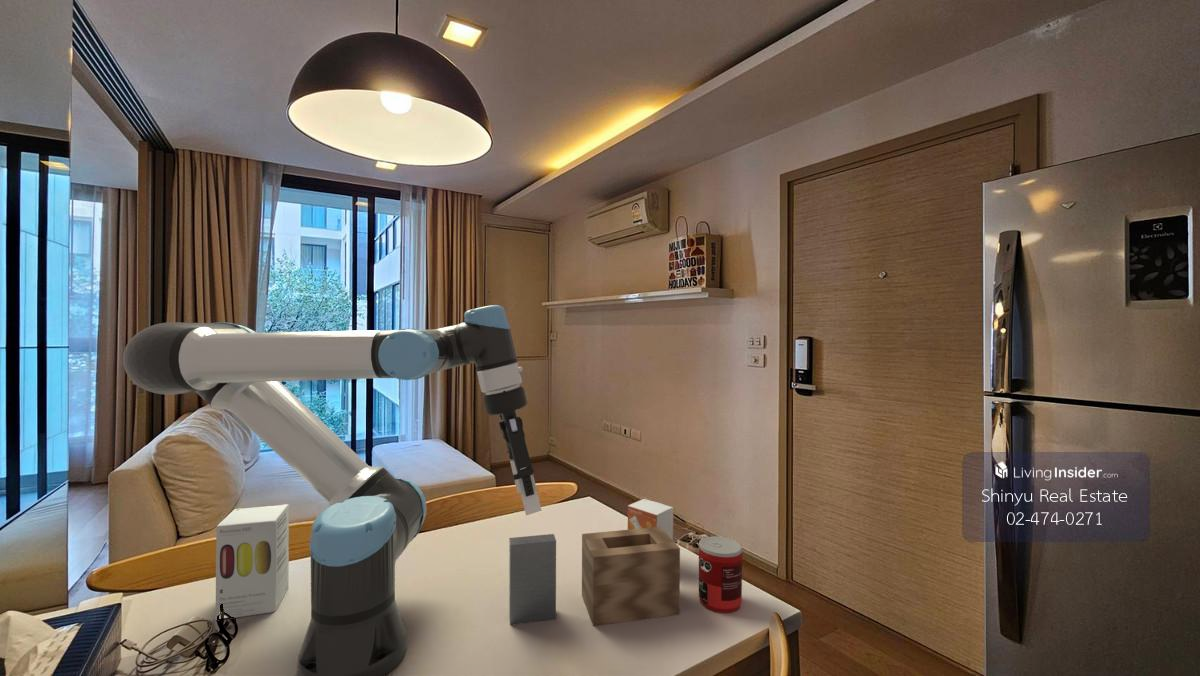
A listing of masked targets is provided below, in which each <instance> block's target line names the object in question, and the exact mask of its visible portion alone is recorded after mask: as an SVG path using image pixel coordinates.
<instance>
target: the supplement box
mask: <svg viewBox="0 0 1200 676" xmlns="http://www.w3.org/2000/svg"><path fill="white" fill-rule="evenodd" d="M215 531H216V532H215V533H216V536H215V538H216V539H215V541H216V546H215V547H216V548H215V549H216V550H215V556H216V557H215V617H214V618H215V619H214V620H215V621H216V620H217V616H218V614H219V612H220V605H221V604H223V609H224V612H225V613H227V614H229V615H231V616H232V617H234V618H233V619H235V618H243V617H248V616H255V615H261V614H268V613H275V612H276V611H277V609H278V607H279V606H280V604H281V602H282V600H283V598H284V597H285V594H286V592H287V591H288V589H289V581H290V580H289V575H290V574H289V571H290V570H289V569H290V566H289V565H290V560H289V559H290V558H289V555H290V554H289V553H290V551H289V549H290V548H289V547H290V504H287V503H285V504H284V503H283V504H279V505H267V506H255V507H245V508H240V507H239V508H235V509H233V510H232V511H231V512H230V513H229V514H228V515H227V516H225V517H224V518H223V519H222V520H221V521H220V522H219V523H218V524H217V525H216V530H215ZM217 621H218V620H217Z"/></svg>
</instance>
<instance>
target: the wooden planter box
mask: <svg viewBox="0 0 1200 676" xmlns="http://www.w3.org/2000/svg"><path fill="white" fill-rule="evenodd" d="M680 574H681V548H680V546H679V545H678V544H677V543H676V542H675V541H674V539H673V540H672V539H671V538H670V537H669V536H668V534H667V533H666V532H665V531H664V530H663V529H662V528H661V527H652V528H641V529H630V530H628V529H622V530H621V529H619V530H611V531H610V530H609V531H600V532H598V531H597V532H589V533H587V532H586V533H582V534H581V597H582V600H583V602H584V605H585V607H586V608H585V609H586V611H587V613H588V616H589V619H590V621H591V624H592V627H594V626H595V627H596V626H601V625H610V624H617V623H624V622H632V621H641V620H647V619H654V618H659V617H660V618H661V617H668V616H674V615H675V616H676V615H680V595H681V593H680V590H681V589H680V582H681V578H680V577H681V575H680Z"/></svg>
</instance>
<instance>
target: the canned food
mask: <svg viewBox="0 0 1200 676" xmlns="http://www.w3.org/2000/svg"><path fill="white" fill-rule="evenodd" d="M742 546H743V545H741V544H740V543H739V542H738V541H737V540H734V539H731V538H728V537H725V536H718V535H717V536H715V535H713V536H707V537H703V538H701V539H700V540H699V543H698V599H699V602H700V603H701V605H702V606H704V607H705V608H707V609H708V610H710V611H713V612H717V613H722V614H726V613H727V614H728V613H733V612H736V611H738V610H739V609H740V607H741V605H742V601H743V600H742V598H743V597H742V594H743V591H742V590H743V583H742V582H743V548H742Z"/></svg>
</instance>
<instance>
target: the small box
mask: <svg viewBox="0 0 1200 676" xmlns="http://www.w3.org/2000/svg"><path fill="white" fill-rule="evenodd" d="M652 527H661V528H662V529H663V530H664V531H665V532H666V533H667V534H668V536H669V537H670V538H671V539H672V540H673V541H674V507H673V506H669V505H668V504H667V505H666V504H663V503H660V502H657V501H653V500H649V499H647V498H642V499H640V500H638V501H636V502H633V503H631V504H628V505H627V530H630V529H641V528H652Z"/></svg>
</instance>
